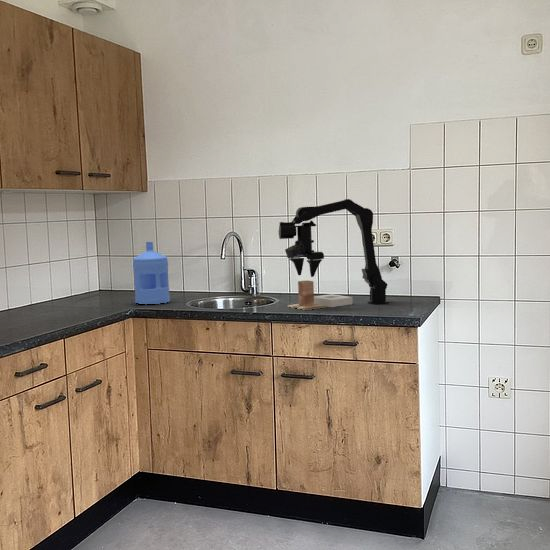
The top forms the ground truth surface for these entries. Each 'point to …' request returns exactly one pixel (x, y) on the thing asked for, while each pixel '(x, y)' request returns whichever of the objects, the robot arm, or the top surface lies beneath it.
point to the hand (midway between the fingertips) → (305, 276)
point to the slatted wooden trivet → (307, 307)
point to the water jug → (151, 277)
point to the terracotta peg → (306, 293)
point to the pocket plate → (333, 300)
